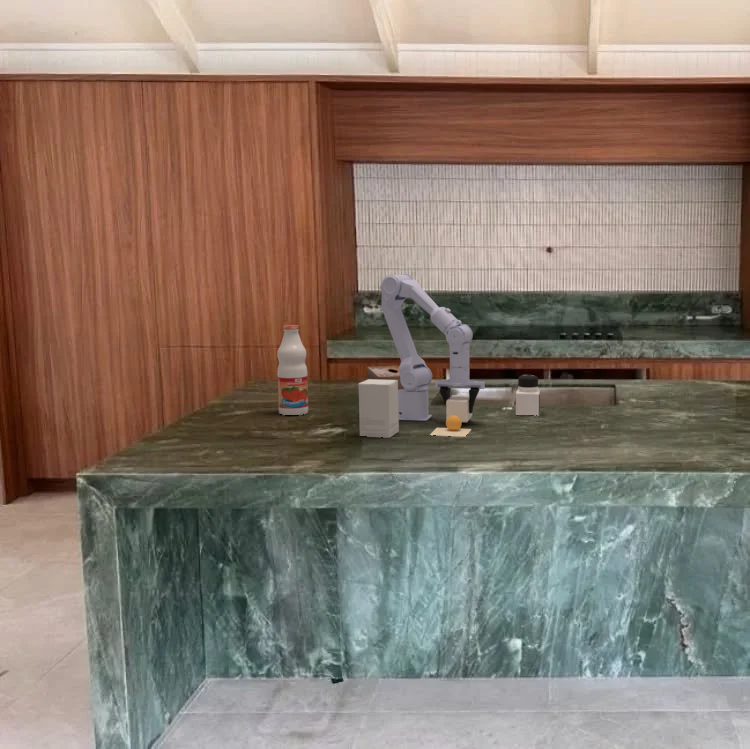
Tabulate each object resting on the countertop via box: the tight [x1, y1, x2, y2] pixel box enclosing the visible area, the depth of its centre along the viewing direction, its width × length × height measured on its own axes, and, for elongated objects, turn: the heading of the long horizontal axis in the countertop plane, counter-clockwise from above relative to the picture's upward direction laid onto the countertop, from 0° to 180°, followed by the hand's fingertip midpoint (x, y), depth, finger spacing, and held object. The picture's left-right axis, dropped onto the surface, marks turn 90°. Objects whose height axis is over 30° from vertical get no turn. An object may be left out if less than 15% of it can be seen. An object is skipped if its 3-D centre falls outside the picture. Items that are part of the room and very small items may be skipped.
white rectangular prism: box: [445, 394, 473, 423], centre depth 250 cm, size 10×6×6 cm, turn 164°
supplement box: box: [357, 379, 400, 439], centre depth 236 cm, size 9×9×15 cm
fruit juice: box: [276, 324, 309, 416], centre depth 268 cm, size 9×9×28 cm
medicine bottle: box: [515, 374, 541, 417], centre depth 262 cm, size 7×7×12 cm
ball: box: [445, 415, 463, 431], centre depth 240 cm, size 4×4×4 cm
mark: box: [429, 427, 472, 438], centre depth 238 cm, size 10×10×1 cm
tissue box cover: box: [366, 365, 404, 390], centre depth 294 cm, size 26×14×10 cm, turn 9°
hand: (459, 412), depth 250 cm, fingers closed on white rectangular prism, 6 cm apart
